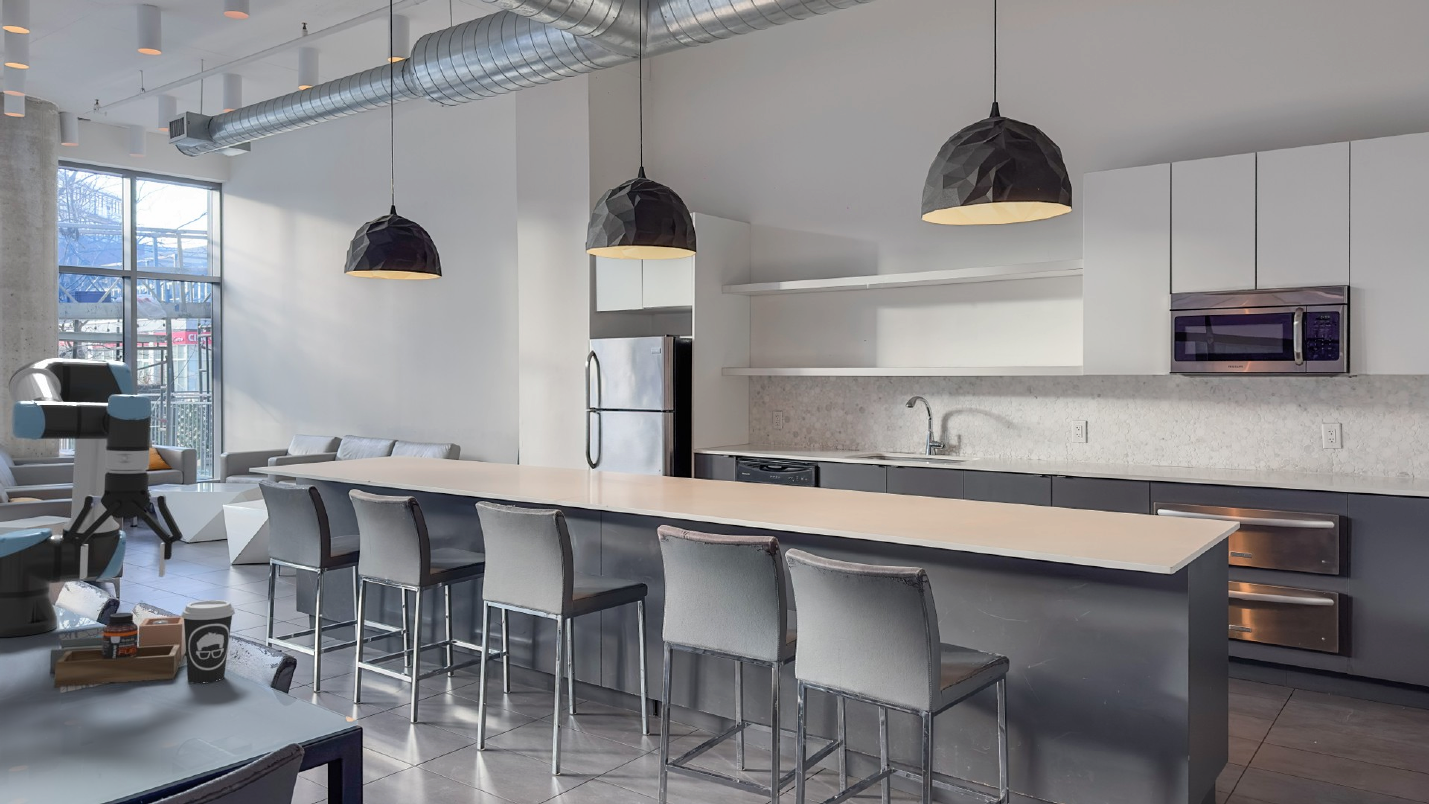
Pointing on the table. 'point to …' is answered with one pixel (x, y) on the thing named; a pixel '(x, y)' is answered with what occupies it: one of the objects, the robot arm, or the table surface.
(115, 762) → the table surface
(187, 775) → the table surface
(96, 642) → the cradle base
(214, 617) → the coffee cup
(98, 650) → the trough
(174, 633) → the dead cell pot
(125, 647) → the supplement bottle
